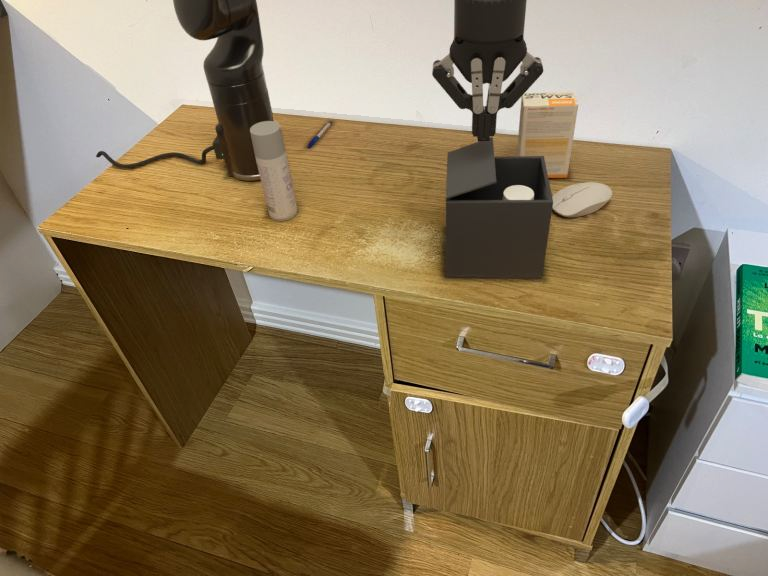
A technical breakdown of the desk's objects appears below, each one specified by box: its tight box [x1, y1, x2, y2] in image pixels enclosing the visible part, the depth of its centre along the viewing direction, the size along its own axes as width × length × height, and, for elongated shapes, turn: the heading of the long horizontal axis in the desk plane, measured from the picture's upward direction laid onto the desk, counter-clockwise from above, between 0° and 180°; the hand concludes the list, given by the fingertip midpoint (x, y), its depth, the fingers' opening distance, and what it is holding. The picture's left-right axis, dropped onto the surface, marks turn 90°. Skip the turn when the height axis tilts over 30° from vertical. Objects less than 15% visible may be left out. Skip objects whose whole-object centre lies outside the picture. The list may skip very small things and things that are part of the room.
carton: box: [445, 155, 553, 280], centre depth 81 cm, size 13×11×12 cm
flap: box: [445, 136, 497, 199], centre depth 76 cm, size 6×11×1 cm, turn 174°
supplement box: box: [516, 91, 579, 179], centre depth 96 cm, size 8×5×13 cm, turn 84°
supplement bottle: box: [503, 185, 534, 200], centre depth 81 cm, size 5×5×10 cm
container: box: [250, 120, 299, 222], centre depth 91 cm, size 5×5×15 cm
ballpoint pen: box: [307, 121, 333, 149], centre depth 115 cm, size 10×1×1 cm, turn 161°
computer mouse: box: [552, 181, 613, 218], centre depth 91 cm, size 6×10×3 cm, turn 112°
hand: (483, 138), depth 73 cm, fingers closed
